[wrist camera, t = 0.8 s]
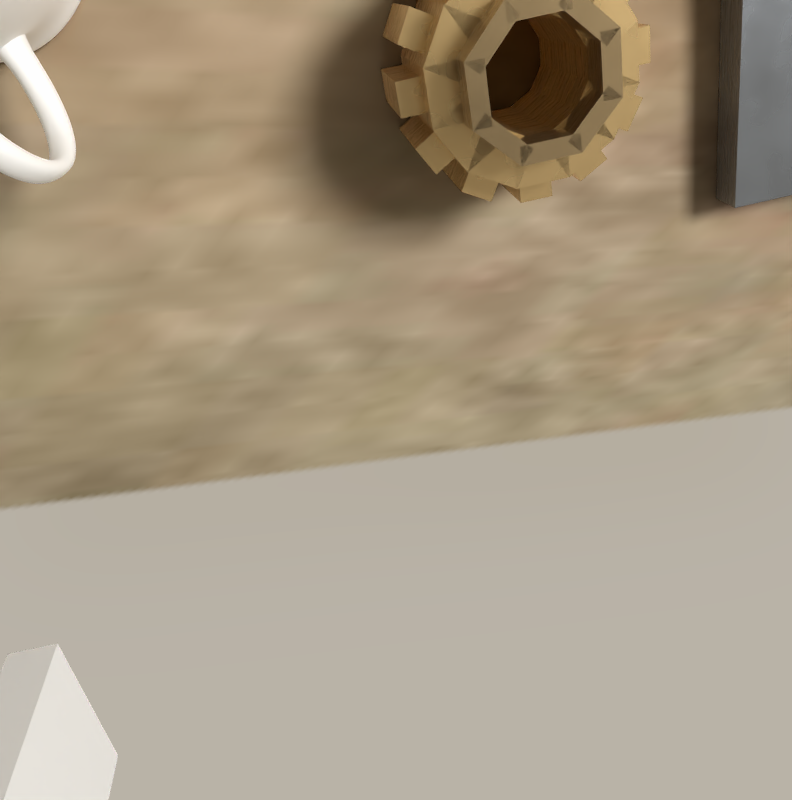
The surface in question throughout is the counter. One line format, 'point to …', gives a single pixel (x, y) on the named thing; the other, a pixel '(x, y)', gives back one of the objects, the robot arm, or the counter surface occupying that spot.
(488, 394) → the counter surface
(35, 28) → the mug
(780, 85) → the carrier
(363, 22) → the counter surface
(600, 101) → the gear
